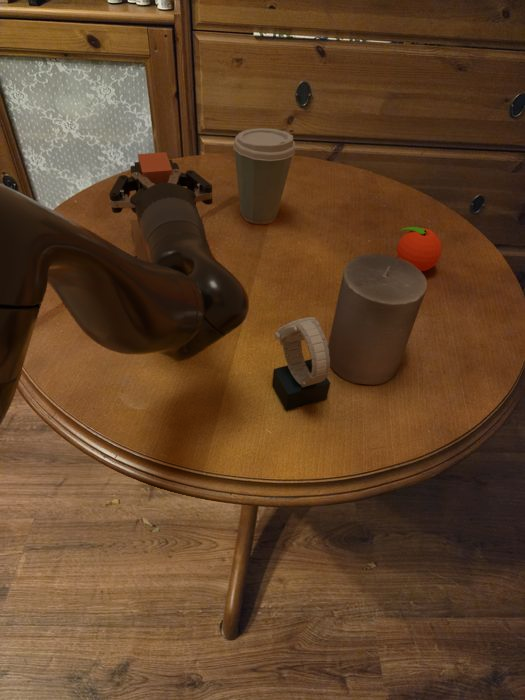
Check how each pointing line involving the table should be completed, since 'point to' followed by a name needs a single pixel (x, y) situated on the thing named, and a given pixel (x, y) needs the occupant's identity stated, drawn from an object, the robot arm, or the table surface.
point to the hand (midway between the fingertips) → (153, 167)
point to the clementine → (420, 248)
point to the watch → (302, 365)
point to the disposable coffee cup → (262, 171)
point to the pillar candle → (374, 317)
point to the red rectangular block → (155, 166)
